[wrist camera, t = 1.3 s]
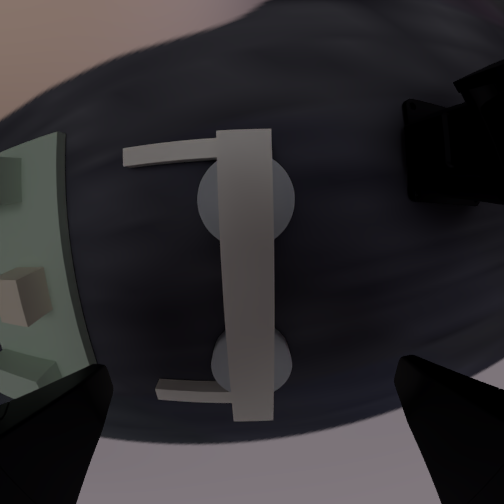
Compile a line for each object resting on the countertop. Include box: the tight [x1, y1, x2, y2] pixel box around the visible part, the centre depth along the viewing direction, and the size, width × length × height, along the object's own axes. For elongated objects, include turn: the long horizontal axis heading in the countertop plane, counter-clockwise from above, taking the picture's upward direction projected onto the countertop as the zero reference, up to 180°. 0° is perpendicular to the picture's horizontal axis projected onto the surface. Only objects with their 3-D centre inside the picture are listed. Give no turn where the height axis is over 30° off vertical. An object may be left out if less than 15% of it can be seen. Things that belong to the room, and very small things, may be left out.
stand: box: [0, 132, 97, 399], centre depth 14 cm, size 11×20×4 cm, turn 2°
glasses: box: [123, 129, 295, 421], centre depth 15 cm, size 9×16×3 cm, turn 2°
